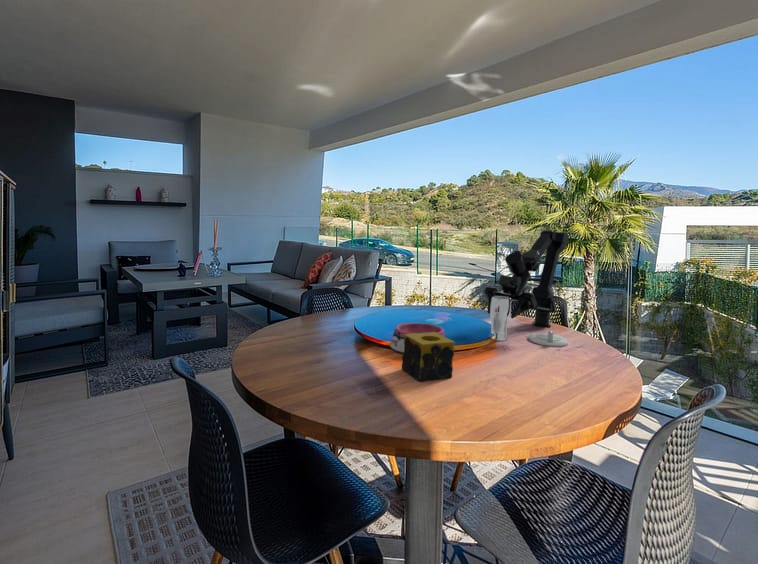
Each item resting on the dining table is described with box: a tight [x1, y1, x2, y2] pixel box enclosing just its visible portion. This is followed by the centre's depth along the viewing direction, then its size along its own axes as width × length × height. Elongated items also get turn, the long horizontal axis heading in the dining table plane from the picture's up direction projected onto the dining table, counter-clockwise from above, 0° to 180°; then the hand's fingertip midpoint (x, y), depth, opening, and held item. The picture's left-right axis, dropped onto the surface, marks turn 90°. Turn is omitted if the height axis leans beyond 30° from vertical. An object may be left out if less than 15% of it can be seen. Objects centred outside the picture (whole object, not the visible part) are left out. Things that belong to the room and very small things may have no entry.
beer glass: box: [489, 296, 512, 342], centre depth 148 cm, size 7×7×15 cm
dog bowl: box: [389, 322, 446, 355], centre depth 134 cm, size 18×19×7 cm
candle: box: [401, 332, 456, 383], centre depth 110 cm, size 10×10×10 cm
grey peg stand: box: [528, 331, 569, 348], centre depth 148 cm, size 13×13×5 cm
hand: (499, 315), depth 147 cm, fingers open, 9 cm apart
